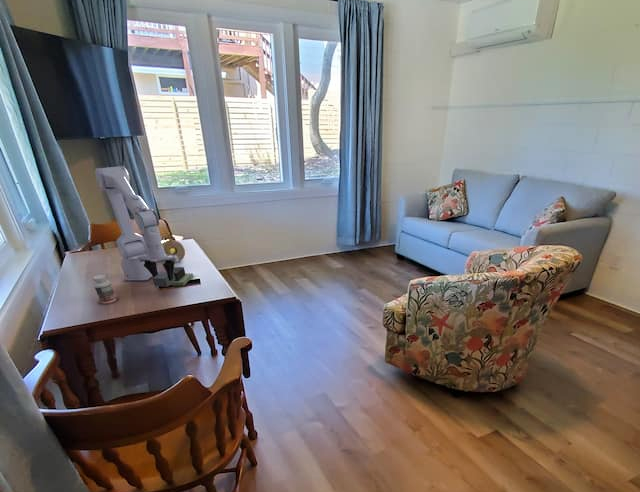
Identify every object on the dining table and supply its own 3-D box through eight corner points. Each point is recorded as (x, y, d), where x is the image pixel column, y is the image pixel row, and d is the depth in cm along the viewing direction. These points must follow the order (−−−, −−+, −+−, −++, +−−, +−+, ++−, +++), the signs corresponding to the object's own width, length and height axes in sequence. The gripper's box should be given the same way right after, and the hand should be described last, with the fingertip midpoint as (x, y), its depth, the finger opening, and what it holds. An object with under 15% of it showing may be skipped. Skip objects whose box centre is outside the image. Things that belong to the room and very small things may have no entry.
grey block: (154, 286, 151) (152, 278, 149) (163, 279, 157) (160, 271, 155) (167, 286, 151) (165, 278, 149) (175, 279, 157) (173, 271, 155)
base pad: (160, 285, 163) (159, 282, 162) (170, 276, 172) (169, 273, 171) (184, 285, 163) (183, 282, 162) (193, 276, 171) (192, 273, 171)
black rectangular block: (166, 281, 163) (164, 273, 162) (174, 274, 170) (172, 267, 168) (178, 281, 163) (176, 273, 162) (185, 274, 169) (183, 267, 168)
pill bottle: (98, 301, 151) (88, 277, 145) (113, 296, 154) (104, 272, 149) (104, 305, 148) (94, 280, 142) (119, 300, 151) (110, 276, 146)
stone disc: (164, 264, 184) (158, 243, 179) (163, 262, 187) (157, 241, 182) (187, 260, 189) (182, 239, 183) (186, 258, 191) (181, 237, 186)
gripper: (129, 248, 143) (140, 283, 150) (168, 248, 142) (178, 283, 150) (138, 242, 149) (149, 276, 156) (176, 242, 148) (185, 276, 155)
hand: (164, 279), depth 153 cm, fingers closed on grey block, 5 cm apart
